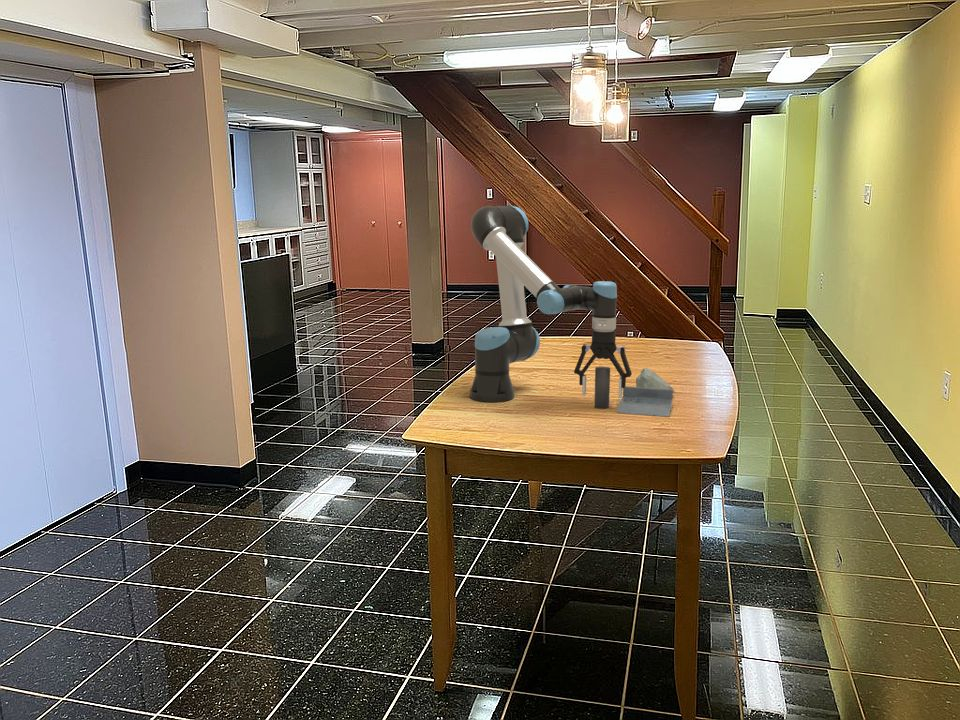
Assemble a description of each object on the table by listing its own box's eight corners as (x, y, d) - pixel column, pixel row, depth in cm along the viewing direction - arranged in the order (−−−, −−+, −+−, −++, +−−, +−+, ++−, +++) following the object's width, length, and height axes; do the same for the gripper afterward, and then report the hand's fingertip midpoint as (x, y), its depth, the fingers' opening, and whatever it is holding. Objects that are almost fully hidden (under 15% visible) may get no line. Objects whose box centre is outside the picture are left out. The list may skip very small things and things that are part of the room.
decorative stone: (627, 396, 279) (641, 376, 272) (633, 379, 287) (647, 359, 281) (660, 415, 278) (675, 396, 272) (665, 397, 287) (680, 378, 280)
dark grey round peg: (593, 408, 264) (594, 369, 261) (595, 404, 268) (596, 366, 266) (607, 409, 262) (609, 369, 260) (610, 405, 267) (611, 366, 264)
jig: (617, 412, 258) (618, 396, 257) (623, 402, 271) (623, 386, 270) (668, 416, 253) (669, 399, 252) (672, 405, 266) (673, 389, 265)
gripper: (565, 330, 260) (564, 396, 264) (639, 333, 253) (637, 401, 258) (570, 326, 267) (568, 391, 272) (642, 329, 260) (639, 395, 265)
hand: (602, 396), depth 265 cm, fingers open, 11 cm apart
